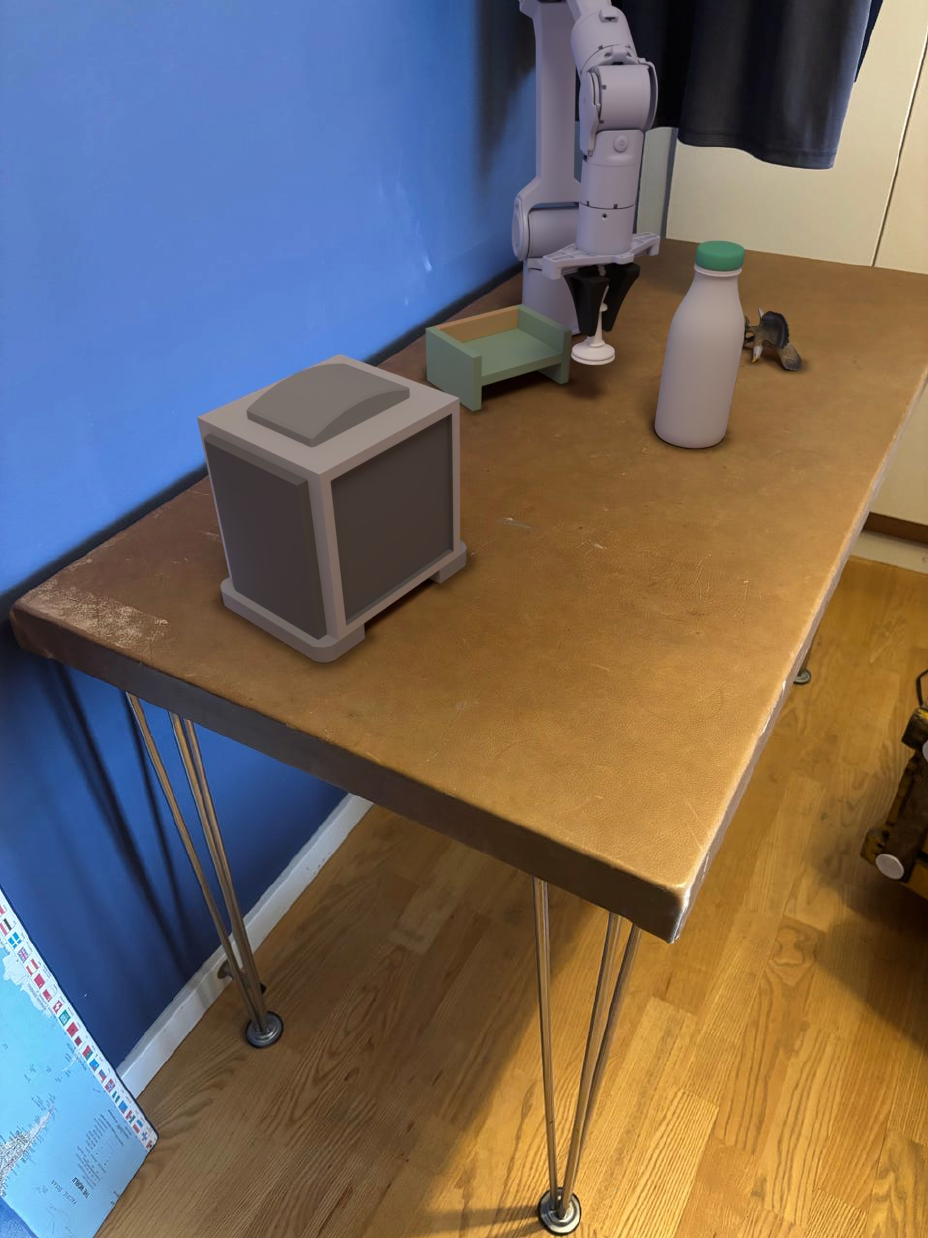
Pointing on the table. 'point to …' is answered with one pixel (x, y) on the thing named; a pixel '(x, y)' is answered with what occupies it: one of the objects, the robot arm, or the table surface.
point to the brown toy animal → (772, 338)
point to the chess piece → (594, 342)
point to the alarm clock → (334, 499)
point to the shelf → (495, 351)
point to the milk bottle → (703, 351)
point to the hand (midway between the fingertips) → (595, 331)
